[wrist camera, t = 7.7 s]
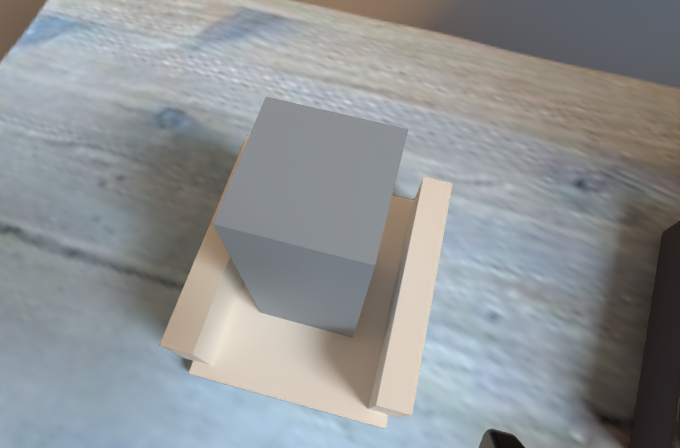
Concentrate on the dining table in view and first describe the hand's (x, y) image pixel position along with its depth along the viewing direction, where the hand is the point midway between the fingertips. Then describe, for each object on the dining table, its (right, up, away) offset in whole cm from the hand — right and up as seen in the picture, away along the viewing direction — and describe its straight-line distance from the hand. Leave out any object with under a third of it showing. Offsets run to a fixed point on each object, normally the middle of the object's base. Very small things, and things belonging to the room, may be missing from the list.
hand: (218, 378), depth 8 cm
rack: (+1, 0, +13) cm, 13 cm away
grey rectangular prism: (+1, 0, +12) cm, 12 cm away
